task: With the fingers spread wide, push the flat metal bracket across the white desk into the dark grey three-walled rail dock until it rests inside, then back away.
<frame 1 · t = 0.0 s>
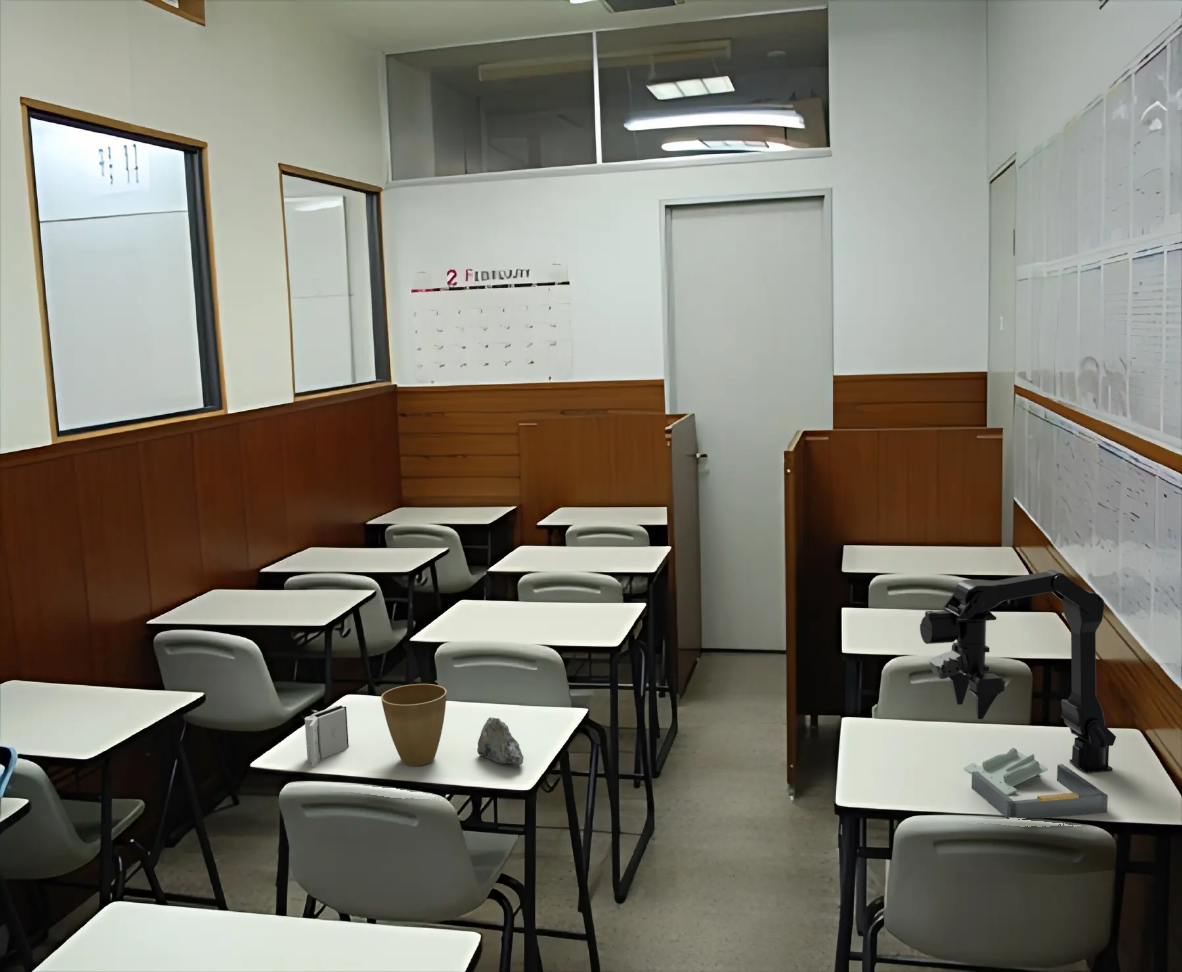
hand: (969, 711, 234), 15 cm above the table, tool pointing down, fingers open, 9 cm apart
metal bracket: (1008, 781, 236), on the table
mineral rock: (500, 762, 252), on the table
rail dock: (1034, 797, 226), on the table
plant pot: (417, 760, 254), on the table
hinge: (326, 757, 258), on the table
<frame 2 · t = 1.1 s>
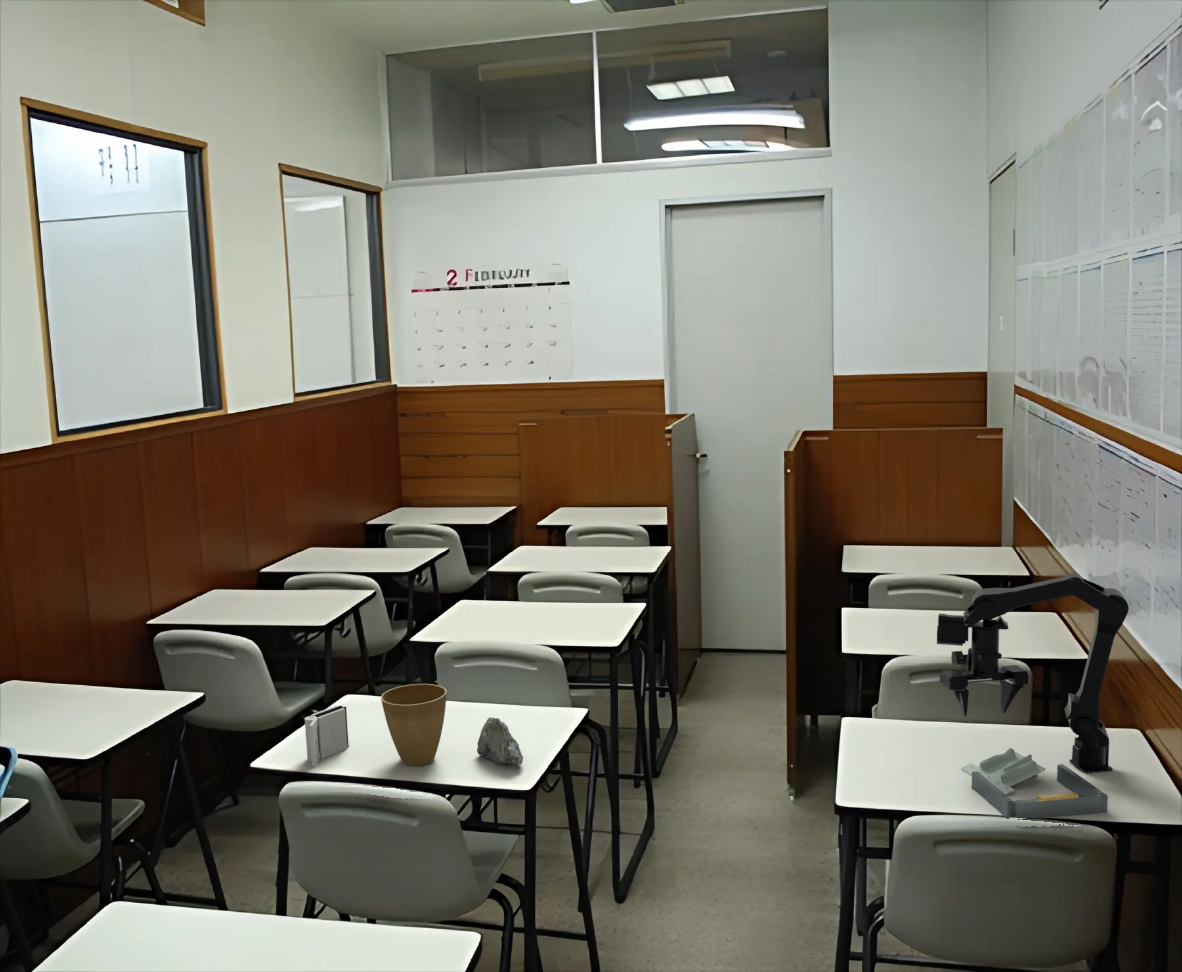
hand: (983, 714, 246), 10 cm above the table, tool pointing down, fingers open, 9 cm apart
nothing on the table moved.
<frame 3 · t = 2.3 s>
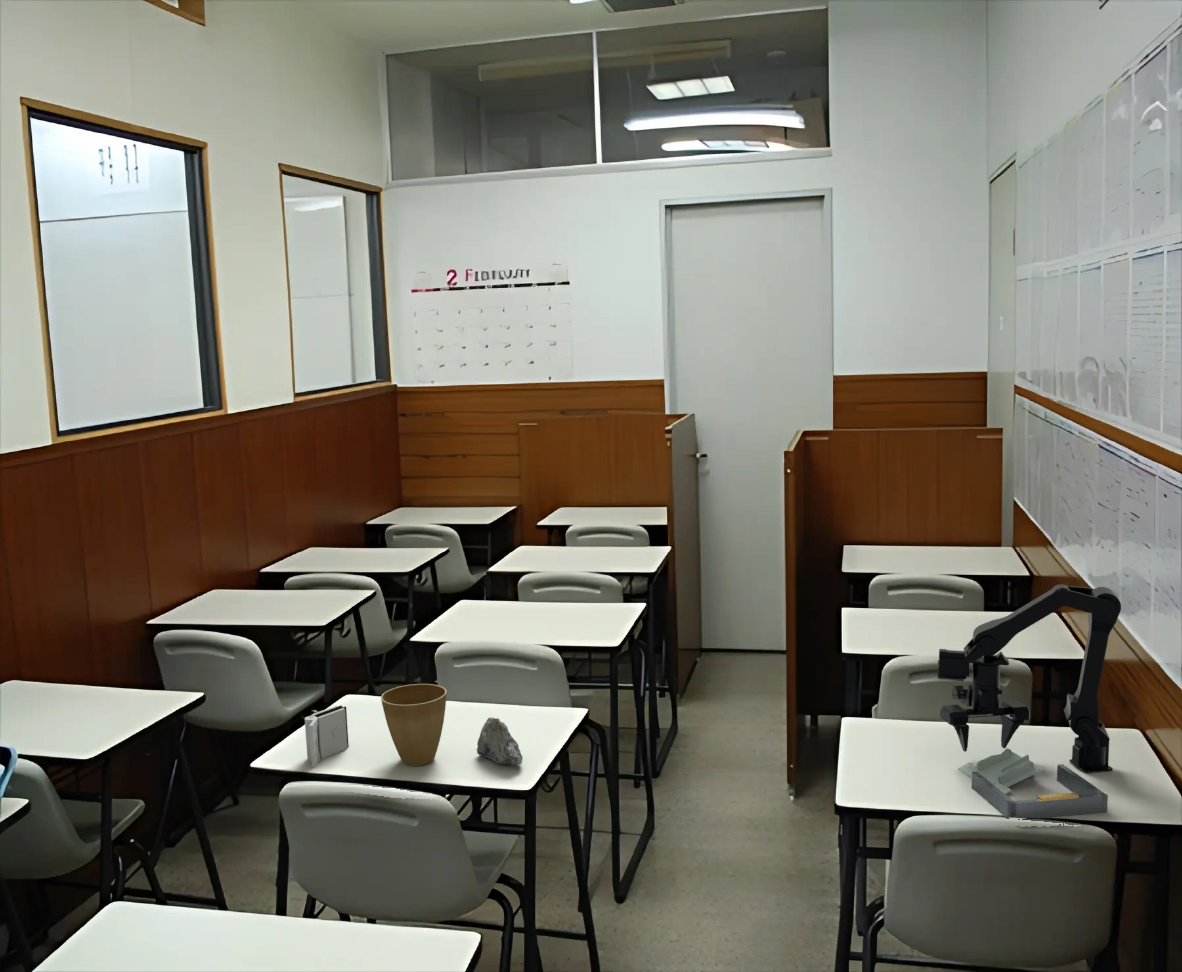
hand: (984, 749, 246), 2 cm above the table, tool pointing down, fingers open, 9 cm apart
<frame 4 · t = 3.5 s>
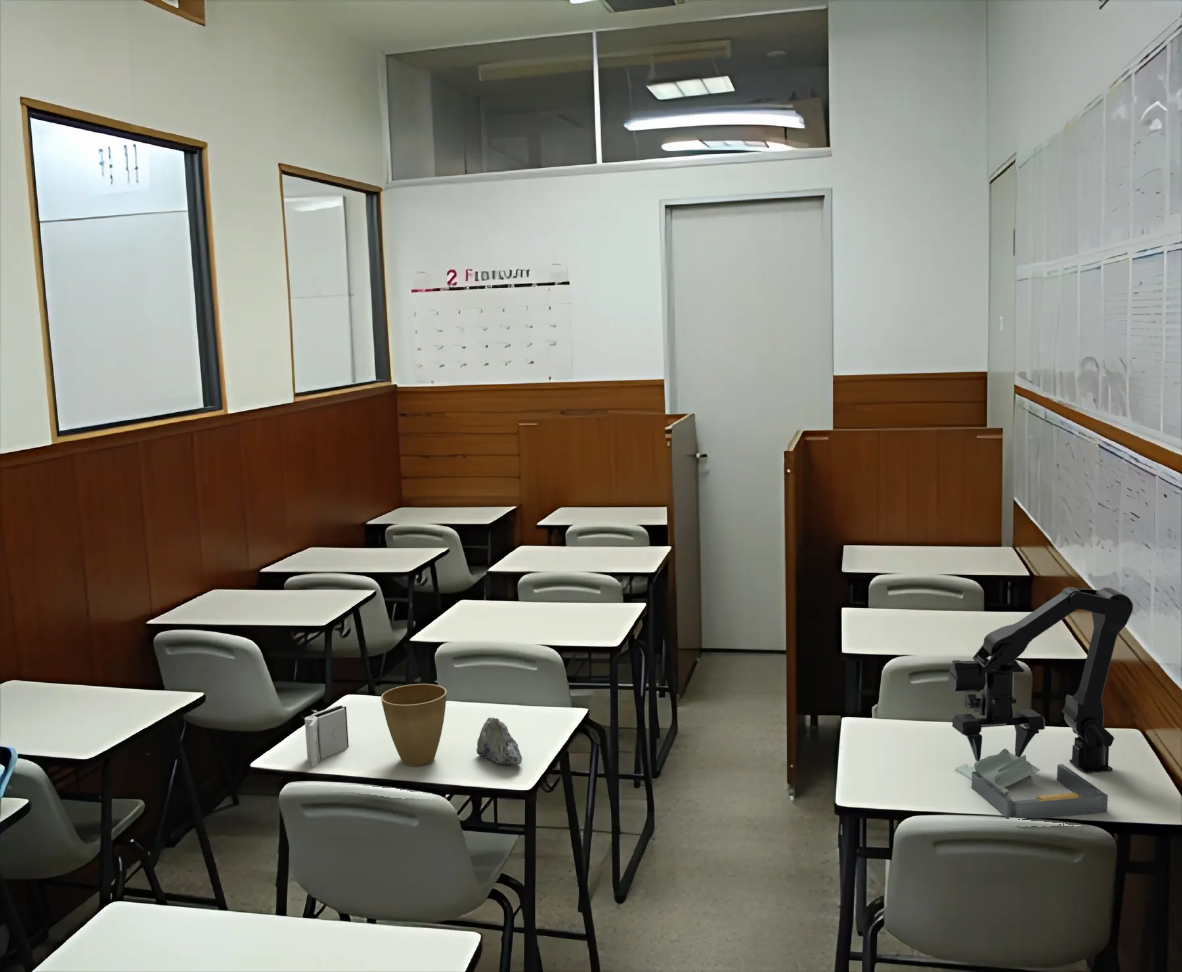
hand: (997, 759, 240), 2 cm above the table, tool pointing down, fingers open, 9 cm apart
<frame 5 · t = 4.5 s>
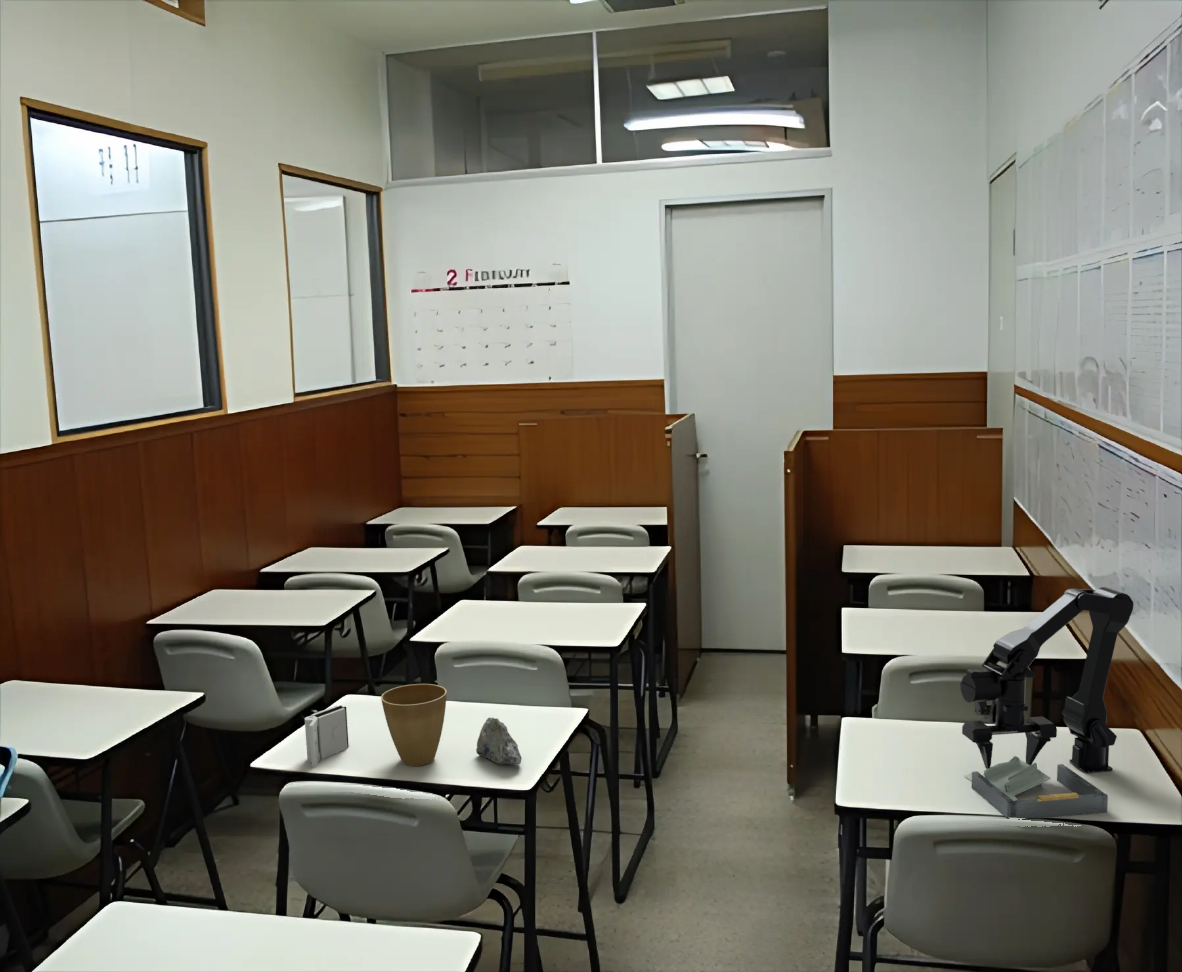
hand: (1007, 767, 236), 2 cm above the table, tool pointing down, fingers open, 9 cm apart
metal bracket: (1010, 790, 231), on the table
everything else where it was.
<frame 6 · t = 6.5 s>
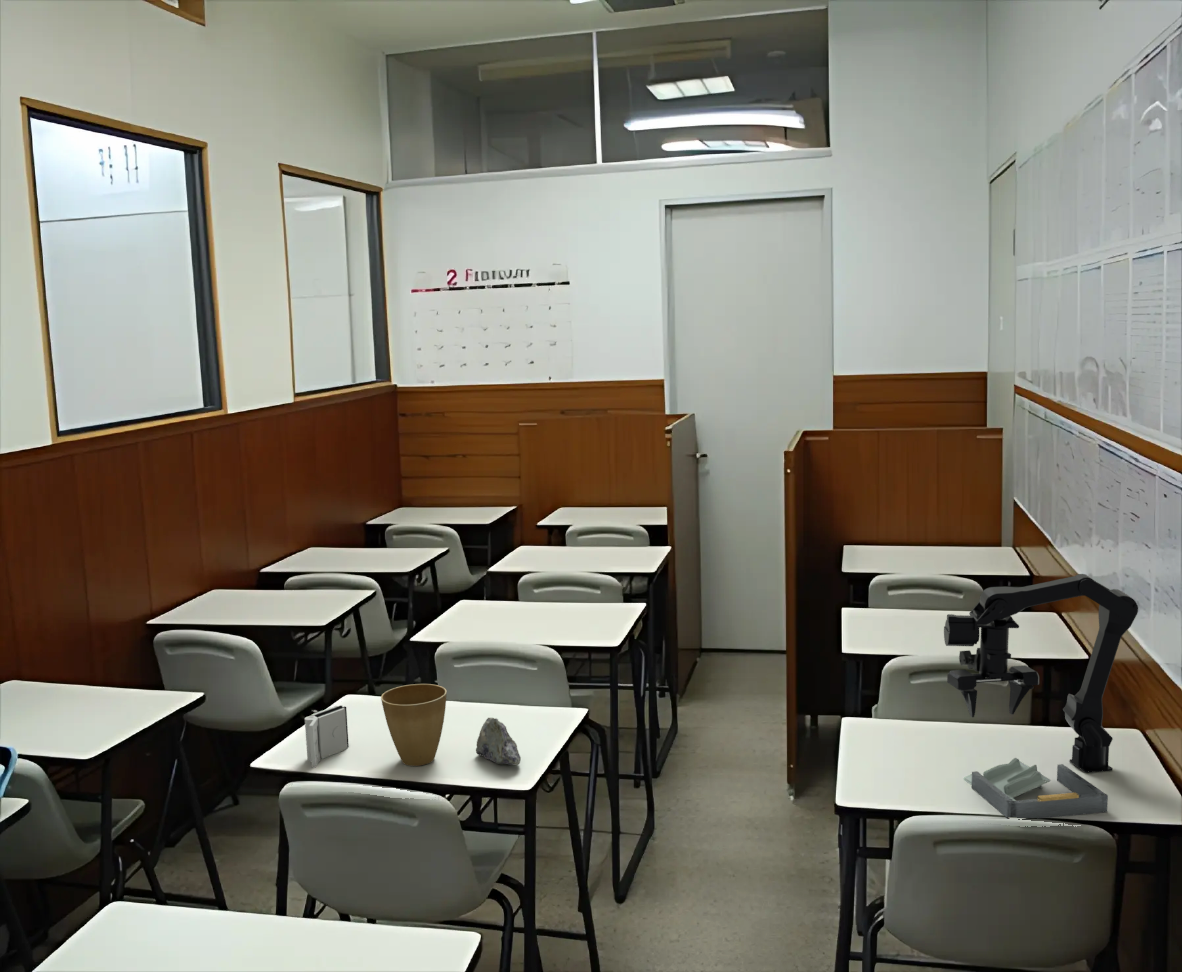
hand: (991, 715, 241), 11 cm above the table, tool pointing down, fingers open, 9 cm apart
metal bracket: (1009, 792, 230), on the table
everything else where it was.
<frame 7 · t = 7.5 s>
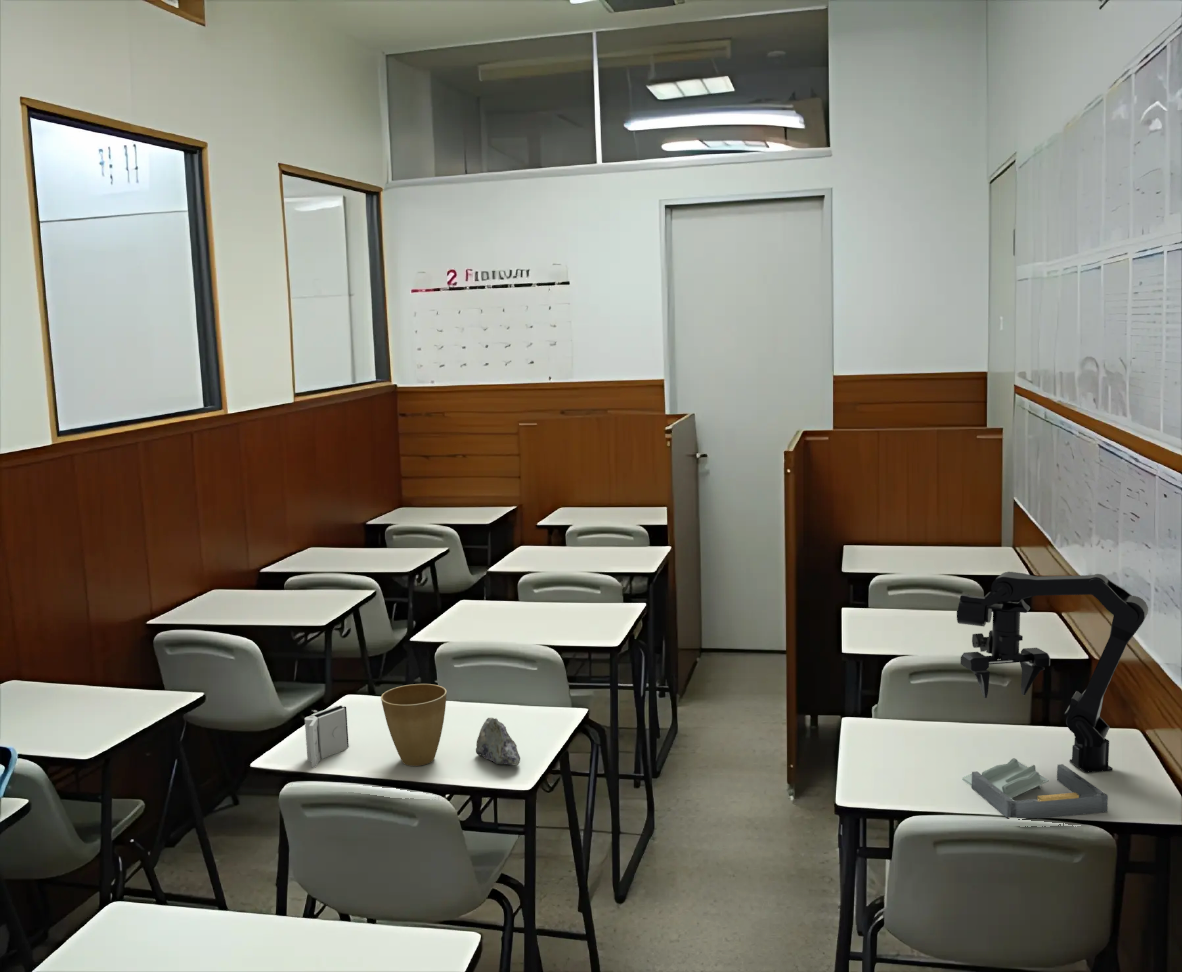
hand: (1004, 696, 248), 13 cm above the table, tool pointing down, fingers open, 9 cm apart
metal bracket: (1008, 792, 230), on the table, touching rail dock
everything else where it was.
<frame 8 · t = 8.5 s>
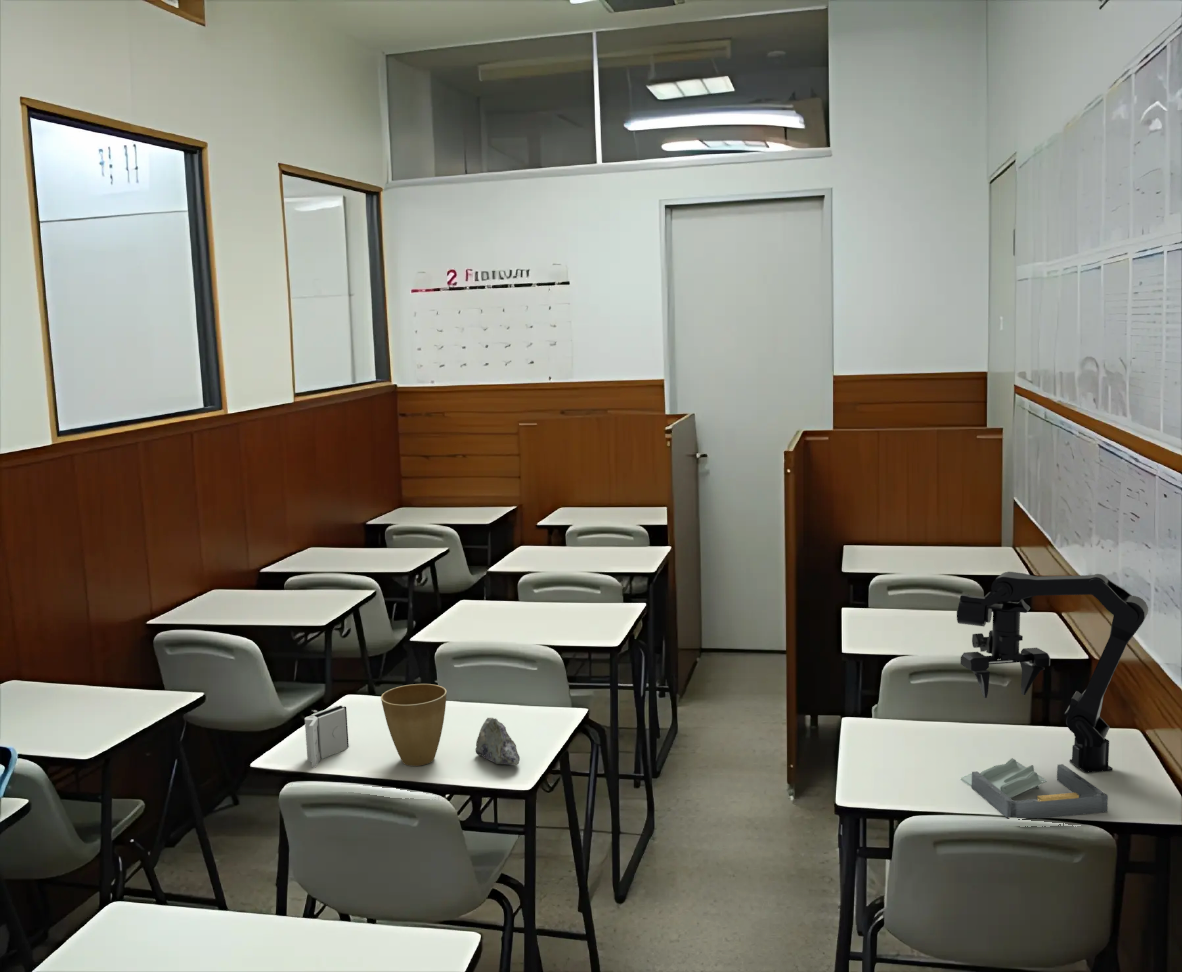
hand: (1004, 696, 248), 13 cm above the table, tool pointing down, fingers open, 9 cm apart
metal bracket: (1006, 792, 230), on the table
everything else where it was.
at the end: metal bracket inside the target area (5.8 cm from its centre), on the table; metal bracket moved 6.5 cm from its start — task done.
